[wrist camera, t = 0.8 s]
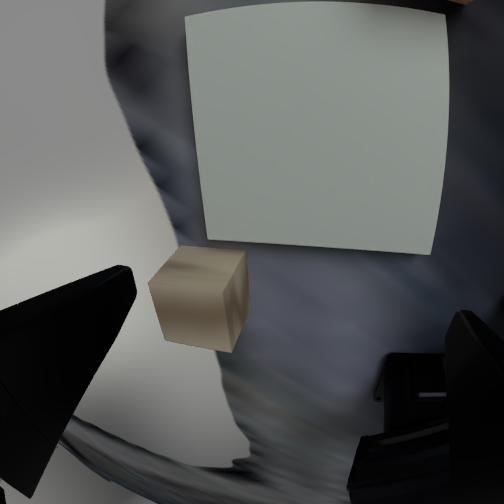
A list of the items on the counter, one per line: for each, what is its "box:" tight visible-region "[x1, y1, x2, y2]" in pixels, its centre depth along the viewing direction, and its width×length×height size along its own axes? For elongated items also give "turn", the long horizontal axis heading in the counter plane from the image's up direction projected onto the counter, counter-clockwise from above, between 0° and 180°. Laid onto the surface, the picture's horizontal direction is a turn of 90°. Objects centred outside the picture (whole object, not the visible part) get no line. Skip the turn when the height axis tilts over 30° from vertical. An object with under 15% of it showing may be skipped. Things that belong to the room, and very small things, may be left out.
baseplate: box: [185, 2, 449, 255], centre depth 16 cm, size 14×14×2 cm
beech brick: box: [148, 246, 251, 353], centre depth 22 cm, size 5×5×5 cm
